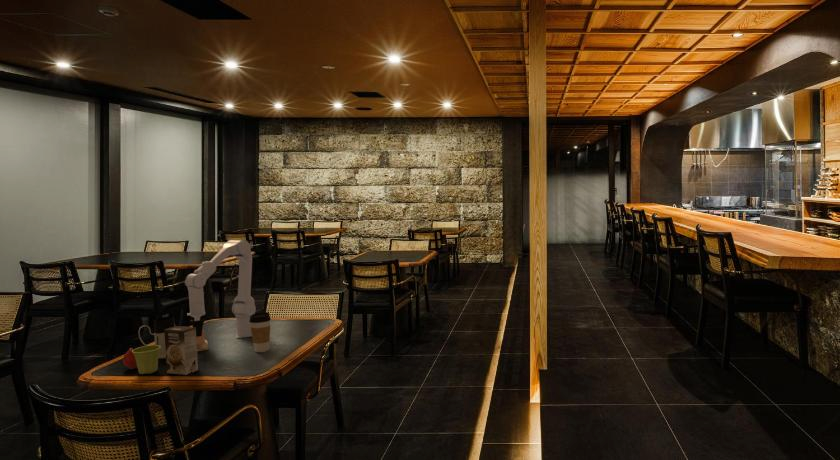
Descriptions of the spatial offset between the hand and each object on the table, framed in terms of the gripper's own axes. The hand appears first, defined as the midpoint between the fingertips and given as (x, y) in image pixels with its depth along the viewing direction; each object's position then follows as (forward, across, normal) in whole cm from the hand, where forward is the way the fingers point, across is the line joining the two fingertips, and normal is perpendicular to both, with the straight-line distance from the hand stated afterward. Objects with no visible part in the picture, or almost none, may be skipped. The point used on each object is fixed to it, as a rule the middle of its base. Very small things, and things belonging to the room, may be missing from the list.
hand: (199, 334), depth 225 cm
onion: (+6, +17, -23) cm, 29 cm away
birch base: (+7, 0, 0) cm, 7 cm away
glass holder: (+6, +4, -15) cm, 17 cm away
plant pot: (+6, +24, -17) cm, 30 cm away
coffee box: (+6, +30, -5) cm, 31 cm away
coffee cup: (+6, +15, +24) cm, 29 cm away
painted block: (+3, 0, 0) cm, 4 cm away
